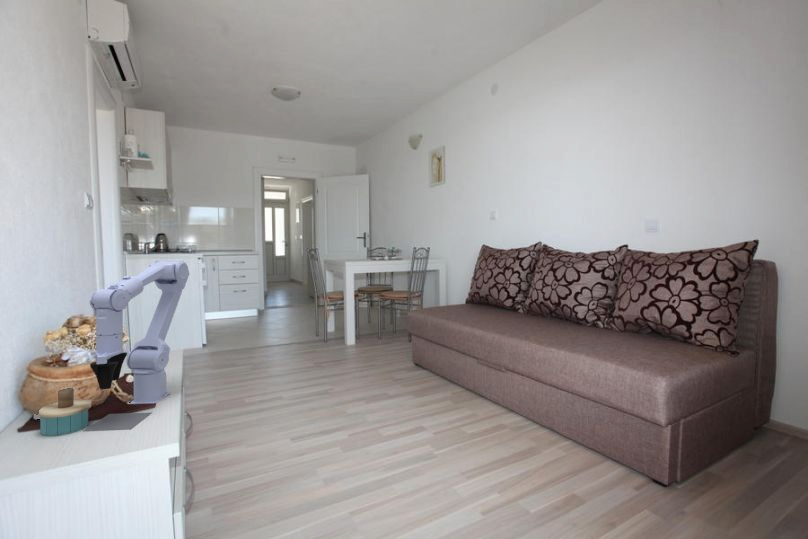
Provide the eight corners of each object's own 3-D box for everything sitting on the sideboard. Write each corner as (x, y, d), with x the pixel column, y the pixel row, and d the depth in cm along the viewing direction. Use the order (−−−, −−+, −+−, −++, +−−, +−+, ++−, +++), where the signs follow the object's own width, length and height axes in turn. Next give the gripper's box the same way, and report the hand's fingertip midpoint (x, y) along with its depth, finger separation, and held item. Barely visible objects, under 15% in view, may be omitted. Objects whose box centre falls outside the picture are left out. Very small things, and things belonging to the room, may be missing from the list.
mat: (109, 415, 109) (109, 413, 109) (152, 414, 110) (152, 412, 110) (82, 433, 98) (82, 431, 98) (131, 431, 99) (131, 429, 99)
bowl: (58, 423, 103) (58, 404, 103) (96, 421, 105) (96, 403, 105) (30, 438, 95) (30, 417, 94) (72, 436, 96) (72, 416, 96)
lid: (58, 403, 104) (58, 384, 104) (100, 402, 105) (100, 383, 105) (27, 418, 94) (27, 397, 94) (74, 417, 95) (74, 396, 95)
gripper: (99, 330, 111) (100, 378, 111) (81, 340, 98) (81, 394, 98) (129, 328, 114) (129, 375, 114) (115, 338, 100) (115, 391, 101)
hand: (109, 384), depth 106 cm, fingers open, 7 cm apart
